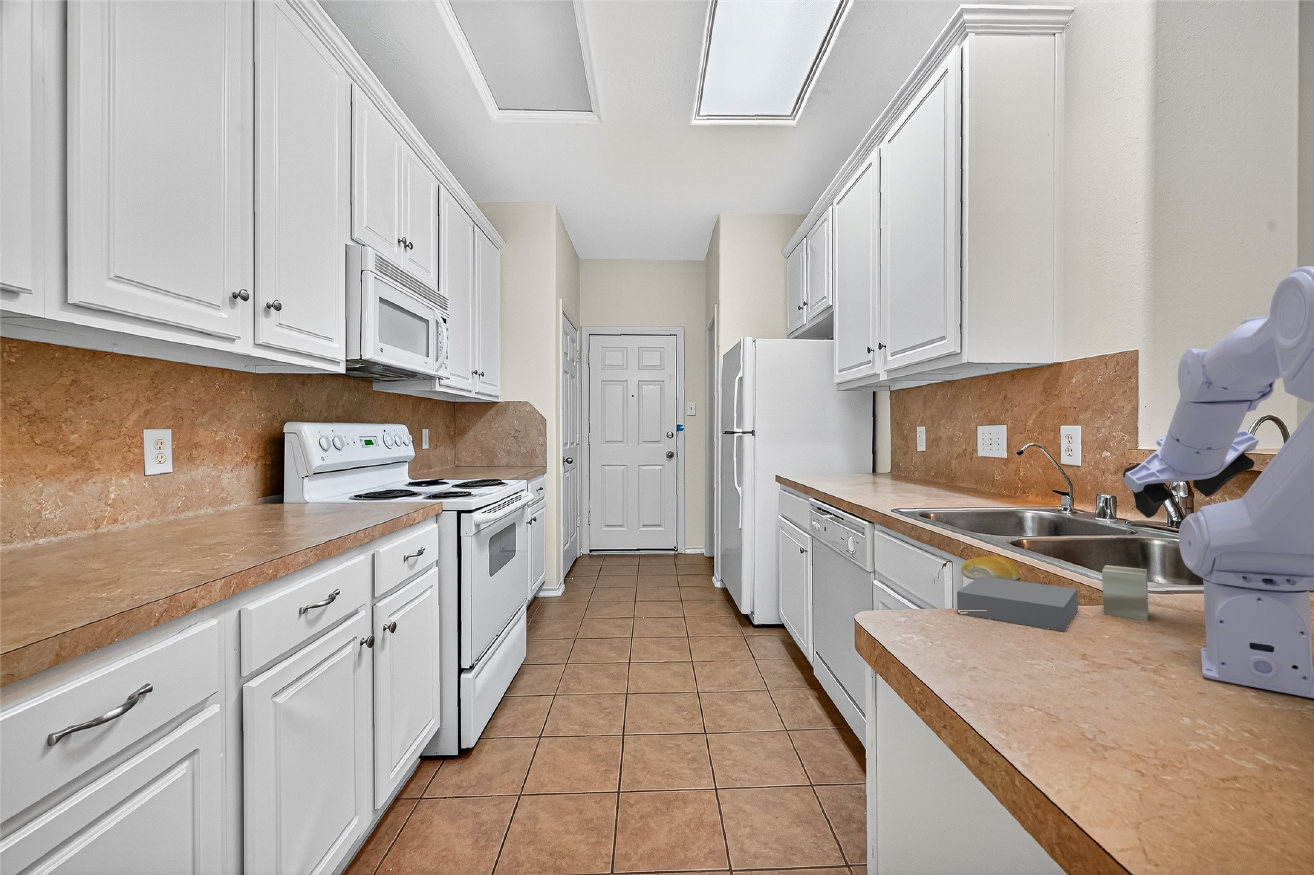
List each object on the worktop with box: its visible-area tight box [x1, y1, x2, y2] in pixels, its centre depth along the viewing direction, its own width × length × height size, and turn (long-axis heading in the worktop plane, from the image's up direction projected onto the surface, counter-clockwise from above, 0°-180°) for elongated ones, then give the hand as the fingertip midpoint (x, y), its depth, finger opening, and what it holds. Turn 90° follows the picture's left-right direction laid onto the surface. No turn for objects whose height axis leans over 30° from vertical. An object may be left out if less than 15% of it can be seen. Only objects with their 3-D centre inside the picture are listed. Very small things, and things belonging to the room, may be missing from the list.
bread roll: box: [960, 555, 1021, 581], centre depth 98 cm, size 8×9×4 cm
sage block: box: [1101, 564, 1150, 622], centre depth 75 cm, size 4×4×6 cm
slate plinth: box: [956, 577, 1079, 632], centre depth 77 cm, size 12×12×3 cm
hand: (1173, 501), depth 75 cm, fingers open, 7 cm apart
